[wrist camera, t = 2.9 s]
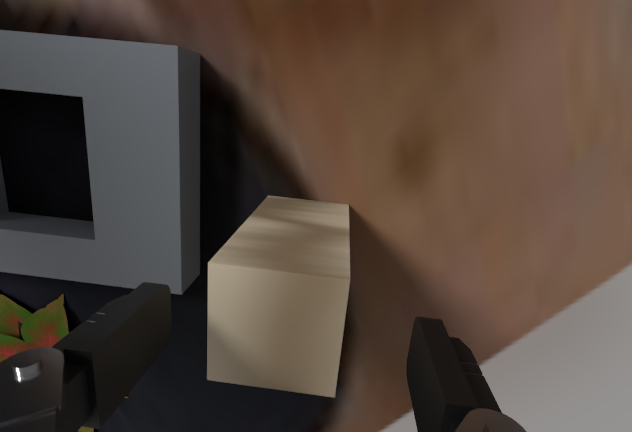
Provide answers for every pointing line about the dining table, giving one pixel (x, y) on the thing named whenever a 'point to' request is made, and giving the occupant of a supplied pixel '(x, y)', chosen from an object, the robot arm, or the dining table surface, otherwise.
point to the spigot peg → (281, 298)
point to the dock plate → (114, 162)
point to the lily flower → (32, 329)
